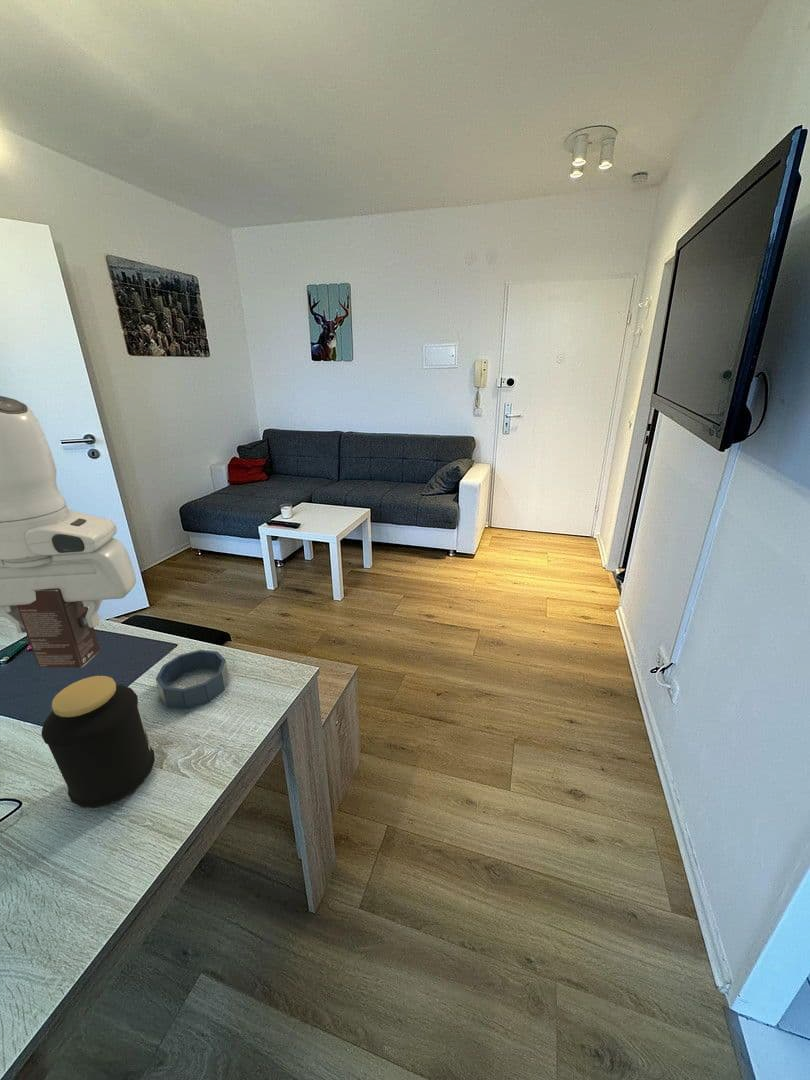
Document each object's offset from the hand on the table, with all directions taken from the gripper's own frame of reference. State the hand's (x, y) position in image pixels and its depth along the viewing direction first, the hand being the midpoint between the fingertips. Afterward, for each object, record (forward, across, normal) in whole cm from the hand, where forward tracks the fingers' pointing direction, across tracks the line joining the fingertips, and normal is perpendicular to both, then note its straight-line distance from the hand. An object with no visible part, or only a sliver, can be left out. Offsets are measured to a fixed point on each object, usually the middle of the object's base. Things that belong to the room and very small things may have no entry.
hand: (60, 627), depth 58 cm
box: (+5, 0, 0) cm, 5 cm away
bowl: (+29, +7, +21) cm, 36 cm away
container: (+29, +1, 0) cm, 29 cm away
